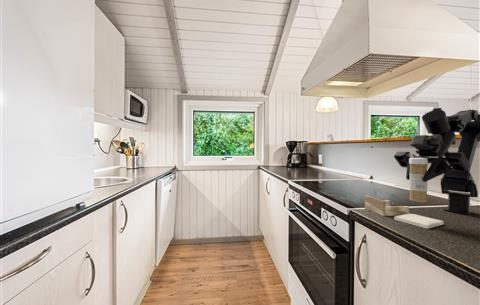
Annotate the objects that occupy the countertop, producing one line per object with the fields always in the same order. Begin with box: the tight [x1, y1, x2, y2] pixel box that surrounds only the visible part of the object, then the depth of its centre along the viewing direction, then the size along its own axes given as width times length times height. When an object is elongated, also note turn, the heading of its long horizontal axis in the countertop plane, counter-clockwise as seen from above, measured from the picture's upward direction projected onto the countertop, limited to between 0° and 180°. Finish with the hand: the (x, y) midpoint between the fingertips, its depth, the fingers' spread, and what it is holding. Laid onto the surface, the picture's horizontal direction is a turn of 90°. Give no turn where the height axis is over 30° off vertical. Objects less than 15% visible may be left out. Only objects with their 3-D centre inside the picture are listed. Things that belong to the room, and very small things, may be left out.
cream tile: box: [393, 212, 444, 230], centre depth 70 cm, size 9×9×1 cm
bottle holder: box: [364, 194, 410, 217], centre depth 81 cm, size 10×10×5 cm
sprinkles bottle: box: [409, 158, 429, 203], centre depth 70 cm, size 5×5×13 cm
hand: (415, 179), depth 70 cm, fingers closed on sprinkles bottle, 4 cm apart
